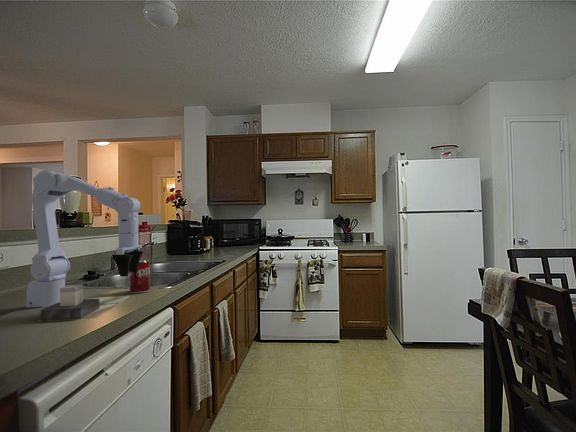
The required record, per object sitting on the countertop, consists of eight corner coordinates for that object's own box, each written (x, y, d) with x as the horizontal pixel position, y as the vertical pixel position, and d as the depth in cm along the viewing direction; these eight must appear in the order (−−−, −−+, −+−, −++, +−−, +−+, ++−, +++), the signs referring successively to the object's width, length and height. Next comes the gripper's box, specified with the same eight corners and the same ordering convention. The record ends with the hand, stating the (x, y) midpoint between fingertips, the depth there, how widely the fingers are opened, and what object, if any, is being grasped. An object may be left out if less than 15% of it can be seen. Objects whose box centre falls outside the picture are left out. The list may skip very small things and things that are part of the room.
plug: (60, 316, 83) (59, 288, 83) (68, 312, 87) (68, 285, 87) (75, 316, 84) (75, 287, 84) (83, 311, 88) (83, 284, 88)
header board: (36, 324, 80) (36, 310, 80) (86, 300, 103) (85, 289, 103) (96, 320, 82) (96, 306, 82) (131, 298, 105) (131, 287, 105)
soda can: (153, 289, 119) (153, 259, 120) (143, 293, 112) (142, 262, 112) (136, 289, 120) (136, 259, 120) (125, 293, 113) (124, 262, 113)
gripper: (132, 233, 92) (133, 277, 91) (148, 232, 106) (148, 270, 106) (108, 234, 91) (108, 278, 91) (127, 232, 105) (127, 271, 105)
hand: (128, 274), depth 98 cm, fingers open, 7 cm apart
